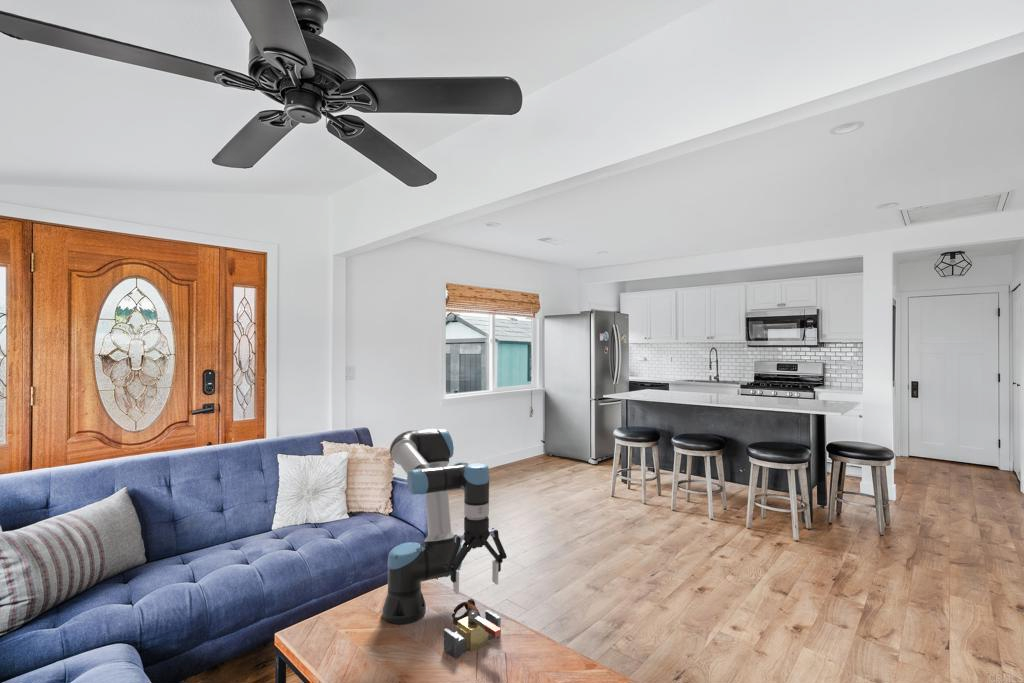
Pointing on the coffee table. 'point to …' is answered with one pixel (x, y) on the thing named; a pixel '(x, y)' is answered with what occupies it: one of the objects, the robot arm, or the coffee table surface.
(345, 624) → the coffee table surface
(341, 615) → the coffee table surface
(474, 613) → the lever
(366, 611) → the coffee table surface
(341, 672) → the coffee table surface
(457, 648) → the valve body
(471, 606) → the pottery mug
